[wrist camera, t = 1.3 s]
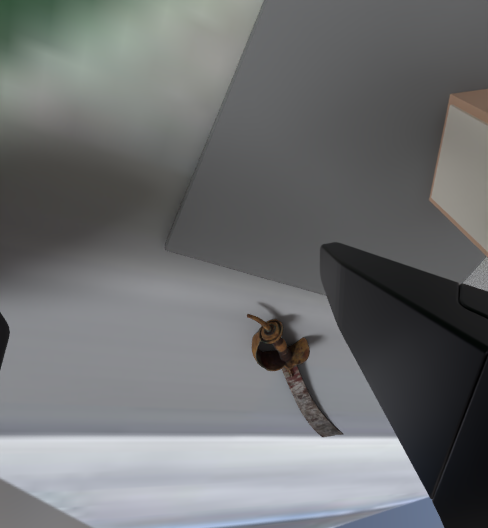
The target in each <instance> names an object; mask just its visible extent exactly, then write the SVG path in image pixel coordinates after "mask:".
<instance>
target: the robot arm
mask: <svg viewBox="0 0 488 528" xmlns="http://www.w3.org/2000/svg"><path fill="white" fill-rule="evenodd" d="M320 277H321V282H322V285H323V287H324V290H325V293H326V295H327V298H328V301H329V304H330V306H331V309H332V312H333V314H334V317H335V320H336V322H337V325H338V327H339V329H340V331H341V333H342V335H343V337H344V339H345V341H346V343H347V344H348V346H349V348H350V350H351V352H352V354H353V356H354V357H355V359H356V361H357V363H358V365H359V367H360V369H361V370H362V372H363V374H364V376H365V378H366V380H367V382H368V383H369V385H370V387H371V389H372V391H373V393H374V395H375V396H376V398H377V400H378V402H379V404H380V406H381V408H382V409H383V411H384V413H385V415H386V417H387V419H388V421H389V422H390V424H391V426H392V428H393V430H394V432H395V433H396V435H397V437H398V439H399V441H400V443H401V445H402V446H403V448H404V450H405V452H406V454H407V456H408V458H409V459H410V461H411V463H412V465H413V467H414V469H415V471H416V472H417V474H418V476H419V478H420V480H421V482H422V484H423V485H424V487H425V489H426V491H427V493H428V495H429V497H430V498H431V499H432V501H433V504H434V506H435V508H436V510H437V512H438V514H439V516H440V518H441V521H442V523H443V525H444V528H488V291H485V290H481V289H478V288H475V287H472V286H469V285H466V284H463V283H462V284H459V283H458V282H456V281H453V280H450V279H447V278H444V277H441V276H438V275H435V274H432V273H429V272H426V271H423V270H420V269H417V268H414V267H411V266H408V265H405V264H402V263H399V262H396V261H393V260H390V259H387V258H384V257H381V256H378V255H375V254H372V253H369V252H366V251H363V250H360V249H357V248H354V247H351V246H348V245H345V244H342V243H339V242H332V243H326V244H322V245H321V247H320ZM9 334H10V331H9V326H8V324H7V322H6V320H5V319H4V317H3V316H2V314H1V312H0V369H1V365H2V362H3V358H4V354H5V350H6V347H7V343H8V339H9Z"/></svg>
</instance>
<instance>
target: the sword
mask: <svg viewBox="0 0 488 528" xmlns="http://www.w3.org/2000/svg"><path fill="white" fill-rule="evenodd" d="M247 317H248V318H251V319H253V320H255V321H257V322H258V323H260V324H261V325H262V327H261V328H260V330H259V332H258V333H256V334H255V335H254V336H253V339H252V353H253V356H254V358H255V360H256V361H257V363H258V364H259V365H260V366H261V367H263V368H265V369H266V370H268V371H277V370H280V369H282V371H283V373H284V376H285V378H286V380H287V383H288V385H289V387H290V390H291V392H292V394H293V396H294V398H295V400H296V402H297V405H298V407H299V408H300V410H301V412H302V414H303V416H304V417H305V418H306V420H307V421H308V423H309V424H310V425H311V427H312V428H313V429H314V430H315V431H316V432H317V433H318V434H319V435H320V436H322V437H328V436H334V435H342V434H343V433H342V432H340V431H339V430H338V429H337V428H336V427H335V426H334V425H333V424H332V423H331V422H330V421H329V420H328V419H327V418H326V417H325V416H324V414H323V413H322V412H321V411H320V410H319V408H318V407H317V405H316V404H315V402H314V401H313V399H312V397H311V395H310V394H309V392H308V390H307V388H306V386H305V384H304V381H303V379H302V377H301V374H300V372H299V369H298V367H297V365H298V364H302V363H303V362H305V361H306V360H307V359H308V357H309V353H310V350H309V345H308V342H307V340H306V339H305V338H304V337H303V338H302V339H300V340H299V341H298V342H296V343H295V344H293V345H291V346H288V347H287V344H286V342H285V340H284V339H283V338H281V336H282V332H283V325H282V323H281V322H280V321H279V320H277V319H274V320H270V321H267V322H265V321H263V320H262V319H260V318H258V317H256V316H253V315H250V314H247ZM261 341H262V342H264V343H268V344H272V343H273V345H274V347H275V349H276V350H275V351H264V352H263V351H261V350H259V349H258V346H259V343H260V342H261Z"/></svg>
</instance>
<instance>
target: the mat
mask: <svg viewBox="0 0 488 528" xmlns="http://www.w3.org/2000/svg"><path fill="white" fill-rule="evenodd" d="M482 89H488V0H264V2H263V4H262V7H261V9H260V12H259V14H258V17H257V19H256V22H255V24H254V27H253V29H252V32H251V34H250V36H249V39H248V41H247V44H246V46H245V49H244V51H243V54H242V56H241V59H240V61H239V64H238V66H237V68H236V71H235V73H234V76H233V78H232V81H231V83H230V86H229V88H228V91H227V93H226V96H225V98H224V100H223V103H222V105H221V108H220V110H219V113H218V115H217V118H216V120H215V123H214V125H213V128H212V130H211V132H210V135H209V137H208V140H207V142H206V145H205V147H204V150H203V152H202V155H201V157H200V160H199V162H198V164H197V167H196V169H195V172H194V174H193V177H192V179H191V182H190V184H189V187H188V189H187V191H186V194H185V196H184V199H183V201H182V204H181V206H180V209H179V211H178V214H177V216H176V219H175V221H174V223H173V226H172V228H171V231H170V233H169V236H168V238H167V241H166V243H165V250H167V251H170V252H174V253H177V254H181V255H184V256H188V257H191V258H195V259H198V260H202V261H205V262H209V263H213V264H216V265H220V266H223V267H227V268H230V269H234V270H237V271H241V272H244V273H248V274H251V275H255V276H259V277H262V278H266V279H269V280H273V281H276V282H280V283H283V284H287V285H290V286H294V287H297V288H301V289H305V290H308V291H312V292H315V293H319V294H322V295H326V293H325V290H324V287H323V285H322V282H321V277H320V247H321V245H322V244H326V243H332V242H339V243H342V244H345V245H348V246H351V247H354V248H357V249H360V250H363V251H366V252H369V253H372V254H375V255H378V256H381V257H384V258H387V259H390V260H393V261H396V262H399V263H402V264H405V265H408V266H411V267H414V268H417V269H420V270H423V271H426V272H429V273H432V274H435V275H438V276H441V277H444V278H447V279H450V280H453V281H456V282H458V283H459V284H462V283H463V282H464V281H465V280H466V278H467V277H468V276H469V275H470V274H471V273H472V272H473V271H474V270H475V269H476V268H477V266H478V265H479V264H480V263H481V262H482V261H483V260H484V259H485V258H486V257H487V256H486V255H485V254H484V253H483V252H482V251H481V250H480V249H479V248H478V247H476V246H475V245H474V244H473V243H472V242H471V241H470V240H469V239H468V238H467V237H466V236H465V235H464V234H463V233H462V232H461V231H460V230H459V229H458V228H457V227H456V226H455V225H454V224H453V223H452V222H451V221H450V220H449V219H448V218H447V217H446V216H445V215H444V214H443V213H442V212H441V211H440V210H439V209H438V208H436V207H435V206H434V205H433V204H432V203H431V202H430V201H429V198H430V193H431V188H432V183H433V178H434V173H435V168H436V163H437V158H438V153H439V148H440V143H441V138H442V133H443V128H444V123H445V118H446V113H447V108H448V103H449V98H450V94H454V93H461V92H468V91H475V90H482ZM326 296H327V295H326Z"/></svg>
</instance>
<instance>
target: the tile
mask: <svg viewBox="0 0 488 528" xmlns="http://www.w3.org/2000/svg"><path fill="white" fill-rule="evenodd" d="M429 201H430V202H431V203H432V204H433V205H434V206H435V207H436V208H438V209H439V210H440V211H441V212H442V213H443V214H444V215H445V216H446V217H447V218H448V219H449V220H450V221H451V222H452V223H453V224H454V225H455V226H456V227H457V228H458V229H459V230H460V231H461V232H462V233H463V234H464V235H465V236H466V237H467V238H468V239H469V240H470V241H471V242H472V243H473V244H474V245H475V246H476V247H478V248H479V249H480V250H481V251H482V252H483V253H484V254H485V255H486V256H487V257H488V89H482V90H475V91H468V92H461V93H454V94H450V98H449V103H448V108H447V113H446V118H445V123H444V128H443V133H442V138H441V143H440V148H439V153H438V158H437V163H436V168H435V173H434V178H433V183H432V188H431V193H430V198H429Z"/></svg>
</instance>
